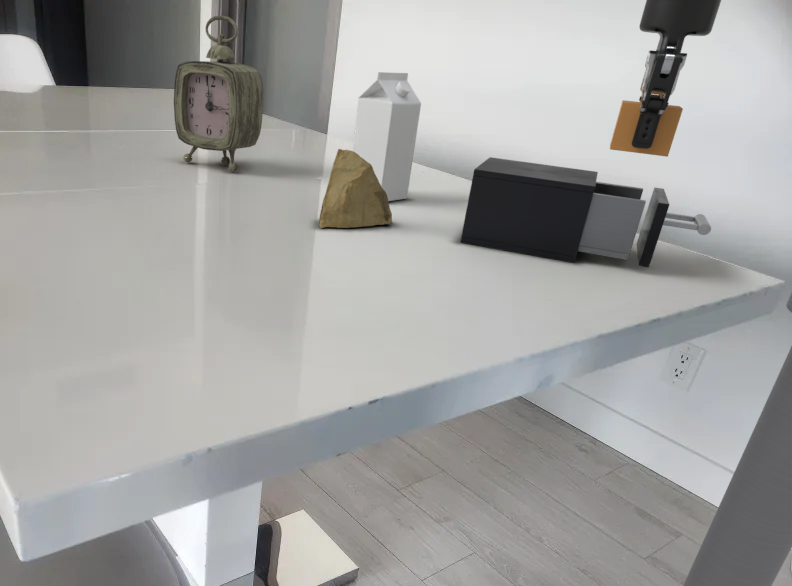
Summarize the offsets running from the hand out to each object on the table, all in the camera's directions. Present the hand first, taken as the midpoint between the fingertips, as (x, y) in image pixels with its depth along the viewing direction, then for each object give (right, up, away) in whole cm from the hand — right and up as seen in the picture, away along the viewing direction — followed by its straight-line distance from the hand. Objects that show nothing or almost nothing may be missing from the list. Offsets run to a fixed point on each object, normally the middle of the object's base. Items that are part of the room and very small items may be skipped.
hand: (640, 144), depth 83 cm
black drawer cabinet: (-11, -10, +10) cm, 18 cm away
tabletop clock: (-57, +11, +43) cm, 72 cm away
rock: (-34, -8, +12) cm, 37 cm away
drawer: (0, -12, +6) cm, 13 cm away
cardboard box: (0, -1, 0) cm, 1 cm away
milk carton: (-29, +1, +29) cm, 41 cm away
